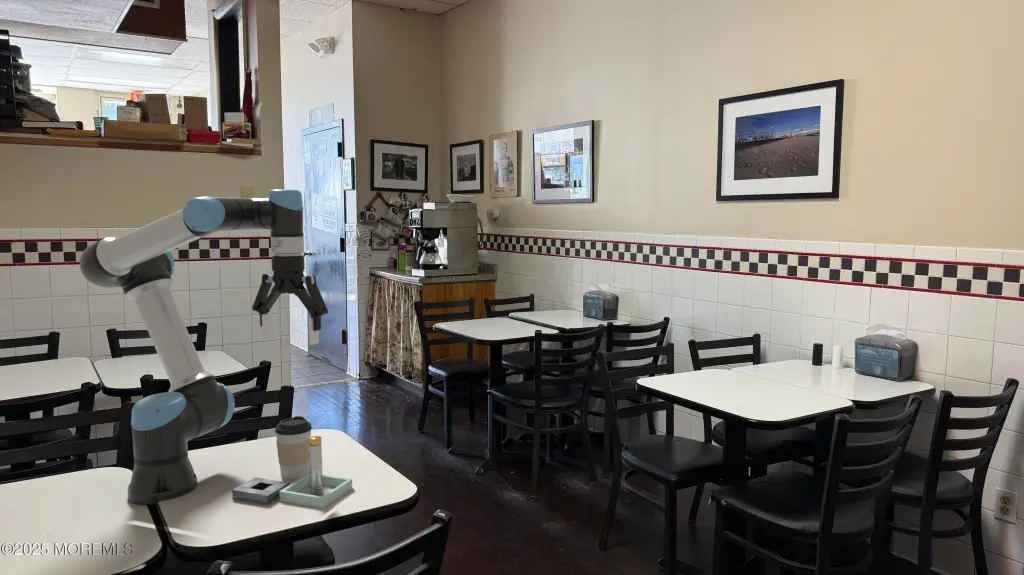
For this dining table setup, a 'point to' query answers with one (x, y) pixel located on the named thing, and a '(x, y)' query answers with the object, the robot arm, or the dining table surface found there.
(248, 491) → the block
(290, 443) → the coffee cup
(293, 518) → the dining table surface
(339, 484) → the tray
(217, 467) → the dining table surface
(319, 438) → the pin
